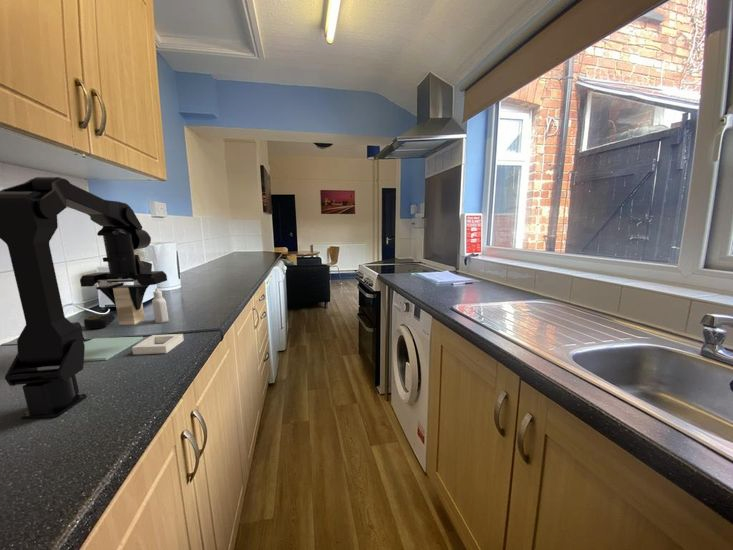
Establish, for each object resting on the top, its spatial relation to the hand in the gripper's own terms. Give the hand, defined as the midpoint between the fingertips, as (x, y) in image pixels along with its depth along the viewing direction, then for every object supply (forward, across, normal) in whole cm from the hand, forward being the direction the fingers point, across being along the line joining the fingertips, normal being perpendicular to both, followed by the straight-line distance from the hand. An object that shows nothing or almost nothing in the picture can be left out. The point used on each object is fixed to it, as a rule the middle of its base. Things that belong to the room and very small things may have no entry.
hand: (130, 309), depth 81 cm
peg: (+4, 0, 0) cm, 4 cm away
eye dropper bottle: (+11, +7, -23) cm, 26 cm away
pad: (+11, +10, 0) cm, 15 cm away
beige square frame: (+11, -6, 0) cm, 13 cm away
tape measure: (+11, +25, -19) cm, 34 cm away
